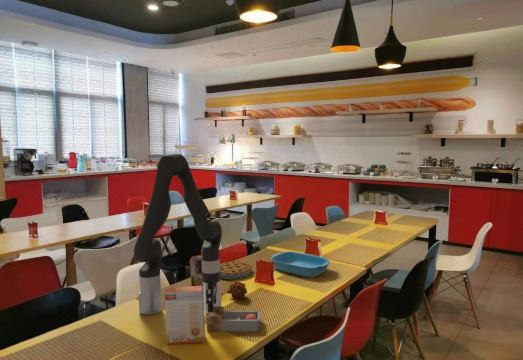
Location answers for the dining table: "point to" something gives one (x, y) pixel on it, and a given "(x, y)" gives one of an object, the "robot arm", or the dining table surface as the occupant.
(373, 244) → the dining table surface
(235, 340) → the dining table surface
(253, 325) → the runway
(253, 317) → the ball
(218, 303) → the milk carton
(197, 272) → the coffee box
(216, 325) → the ramp
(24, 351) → the dining table surface
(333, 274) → the dining table surface
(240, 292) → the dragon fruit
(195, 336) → the cracker box
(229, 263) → the pie
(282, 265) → the casserole dish
